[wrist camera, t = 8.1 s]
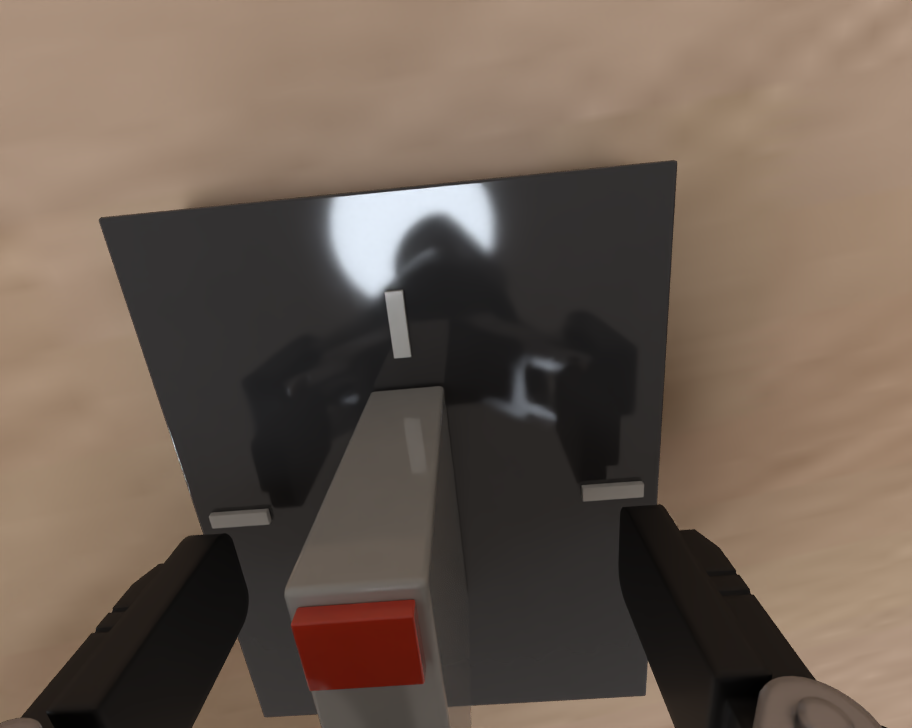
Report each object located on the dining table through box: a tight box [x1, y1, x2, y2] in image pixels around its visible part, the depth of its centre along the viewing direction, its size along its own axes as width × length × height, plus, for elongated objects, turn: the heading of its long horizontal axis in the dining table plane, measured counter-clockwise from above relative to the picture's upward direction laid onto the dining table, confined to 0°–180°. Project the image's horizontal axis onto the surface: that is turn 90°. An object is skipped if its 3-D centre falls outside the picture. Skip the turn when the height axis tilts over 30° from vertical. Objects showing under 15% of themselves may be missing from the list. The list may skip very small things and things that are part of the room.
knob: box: [284, 386, 471, 728], centre depth 9 cm, size 6×2×6 cm, turn 6°
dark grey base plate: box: [99, 160, 677, 717], centre depth 13 cm, size 14×11×3 cm
